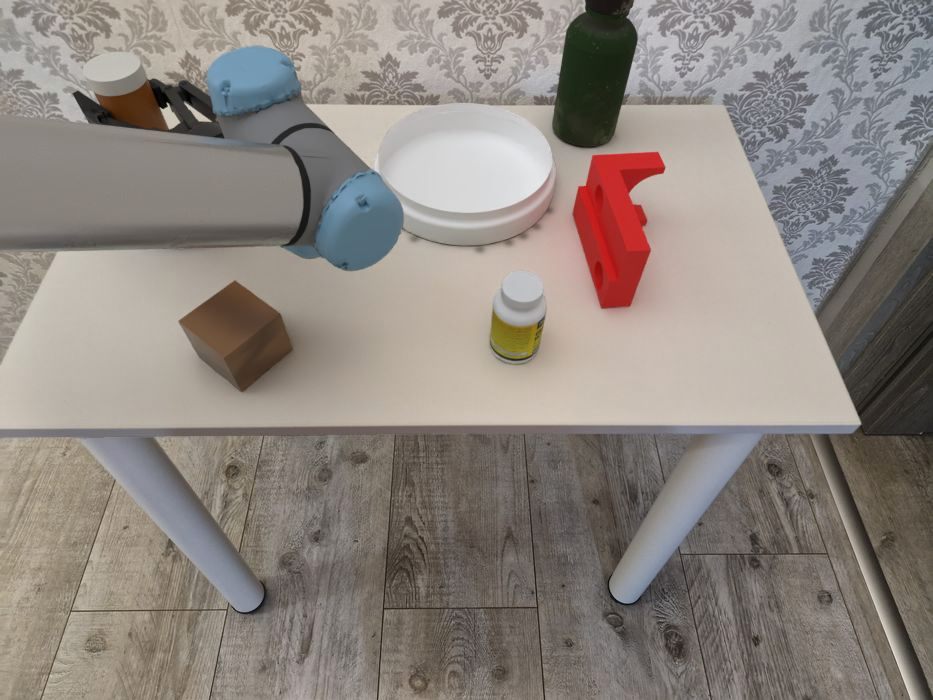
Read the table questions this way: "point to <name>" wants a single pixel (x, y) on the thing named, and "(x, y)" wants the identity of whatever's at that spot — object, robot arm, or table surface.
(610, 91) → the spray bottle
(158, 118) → the vitamin bottle
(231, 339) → the riser
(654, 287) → the table surface
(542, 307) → the pill bottle
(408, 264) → the table surface
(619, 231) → the bracket
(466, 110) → the round white tray
